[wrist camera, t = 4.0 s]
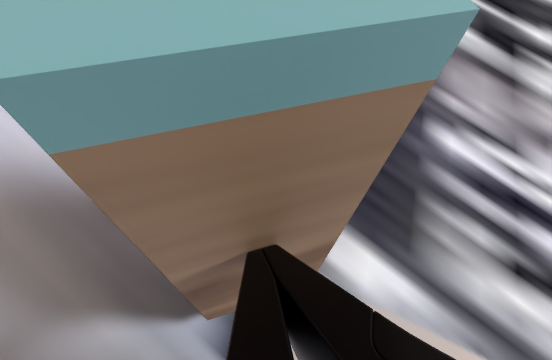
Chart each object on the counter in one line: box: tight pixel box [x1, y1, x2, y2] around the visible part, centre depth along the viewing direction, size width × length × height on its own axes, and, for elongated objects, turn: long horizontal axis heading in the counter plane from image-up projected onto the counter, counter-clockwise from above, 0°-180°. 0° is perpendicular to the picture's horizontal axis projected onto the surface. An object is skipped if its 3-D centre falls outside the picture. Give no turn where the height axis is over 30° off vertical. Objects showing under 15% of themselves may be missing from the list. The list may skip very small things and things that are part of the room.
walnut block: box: [0, 0, 479, 320], centre depth 10 cm, size 5×5×14 cm
